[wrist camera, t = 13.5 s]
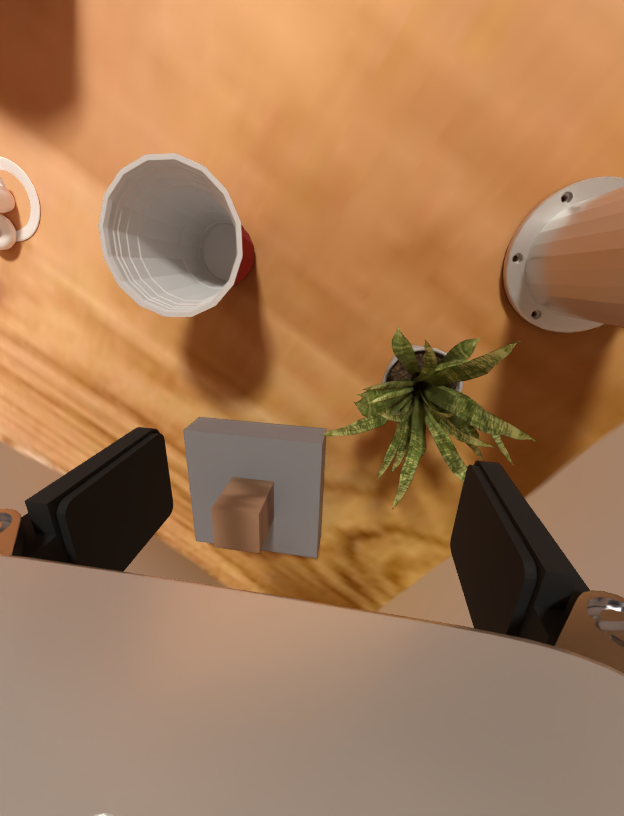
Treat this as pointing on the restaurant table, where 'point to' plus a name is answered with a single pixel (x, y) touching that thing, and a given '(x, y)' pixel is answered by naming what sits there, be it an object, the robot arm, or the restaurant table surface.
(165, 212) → the plastic cup
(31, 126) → the restaurant table surface
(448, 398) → the house plant
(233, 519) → the walnut block
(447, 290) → the restaurant table surface
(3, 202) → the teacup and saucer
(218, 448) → the grey square slab
